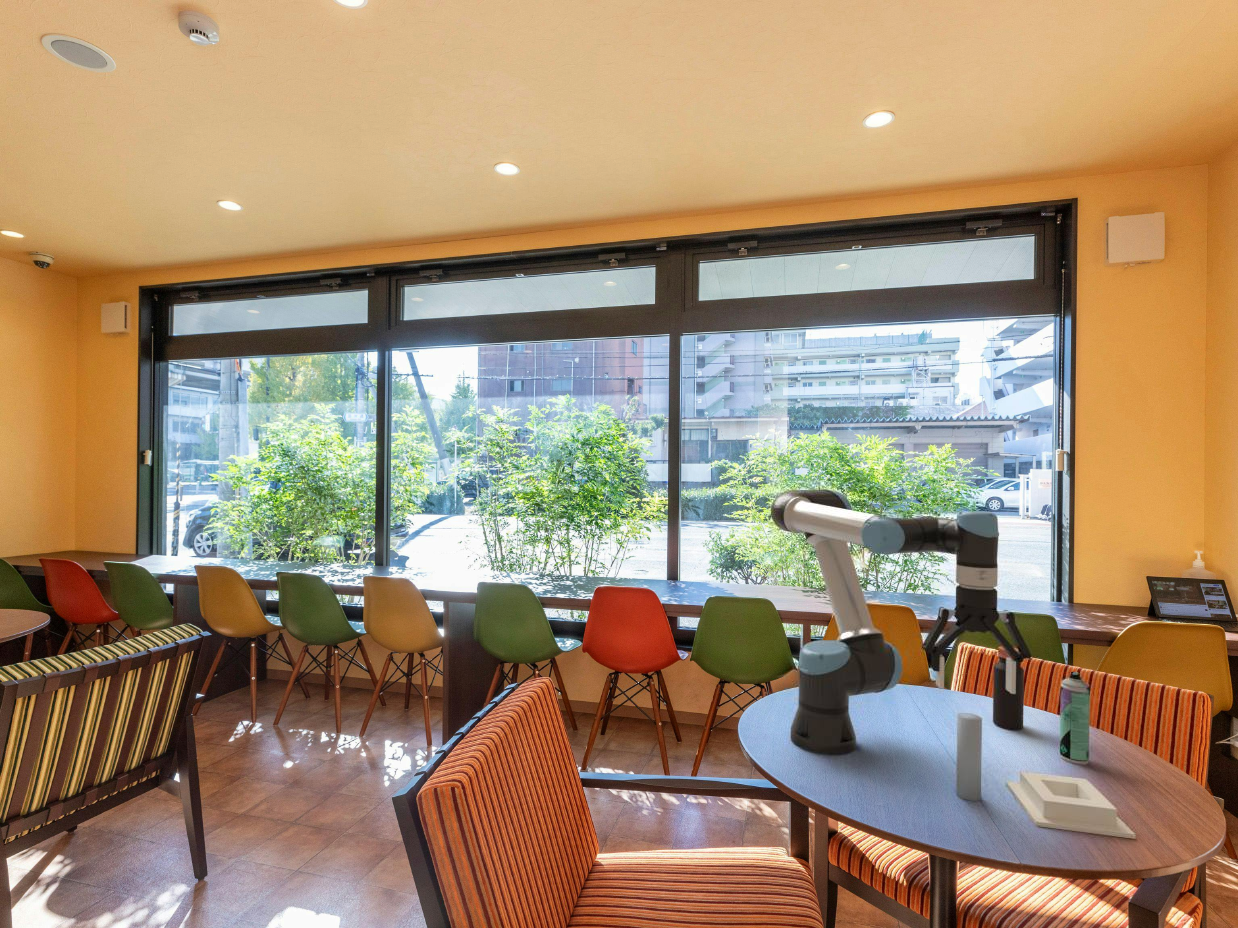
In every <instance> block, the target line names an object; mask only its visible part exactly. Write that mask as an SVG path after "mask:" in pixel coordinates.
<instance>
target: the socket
mask: <svg viewBox="0 0 1238 928" xmlns="http://www.w3.org/2000/svg"><path fill="white" fill-rule="evenodd" d="M1005 787H1006V788H1007V789H1008V791H1010V793H1011V794H1012V796H1013V797H1014V799H1015V800H1016V801H1017V803H1018V804H1019V805H1020V806H1021V807H1022V810H1024V812H1025V814H1027V816H1028V818H1029V819H1030V820H1031V822H1033V824H1034V825H1035V827H1043V828H1048V829H1049V828H1050V829H1056V830H1057V829H1058V830H1064V831H1071V832H1072V831H1073V832H1081V833H1087V834H1088V833H1089V834H1096V835H1102V836H1110V837H1111V836H1112V837H1118V838H1126V839H1133V840H1135V839H1136V833H1135V832H1134V831H1132V830H1131V829H1130V828H1129V826H1127V824H1126V823H1124V822H1123V821H1122V820H1121V818H1119V817H1118V808H1116V807H1115V806H1114V805H1113V804H1112V803H1111V802H1110V801H1109V800H1108V799H1107V798H1106V797H1105V796H1104V795H1103V794H1102V793H1101V792H1100V791H1099V790H1098V789H1097V788H1096V787H1095V786H1094V785H1093V784H1092V783H1091V782H1090V781H1089V780H1087V778H1080V777H1070V776H1064V775H1054V774H1045V773H1038V772H1037V773H1036V772H1029V771H1019V782H1016V781H1008V780H1007V781H1006V780H1005Z"/></svg>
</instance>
